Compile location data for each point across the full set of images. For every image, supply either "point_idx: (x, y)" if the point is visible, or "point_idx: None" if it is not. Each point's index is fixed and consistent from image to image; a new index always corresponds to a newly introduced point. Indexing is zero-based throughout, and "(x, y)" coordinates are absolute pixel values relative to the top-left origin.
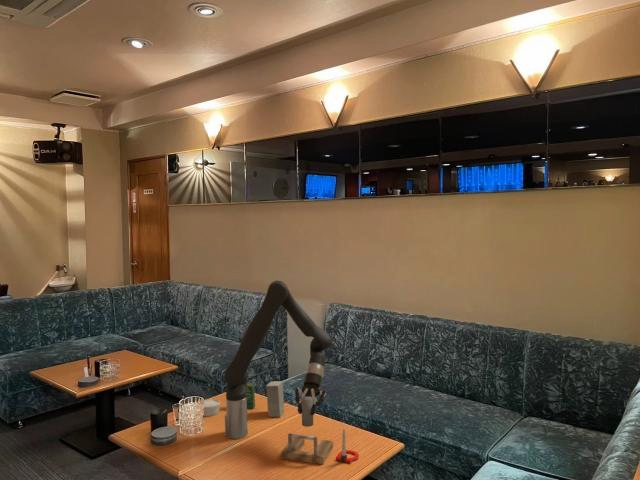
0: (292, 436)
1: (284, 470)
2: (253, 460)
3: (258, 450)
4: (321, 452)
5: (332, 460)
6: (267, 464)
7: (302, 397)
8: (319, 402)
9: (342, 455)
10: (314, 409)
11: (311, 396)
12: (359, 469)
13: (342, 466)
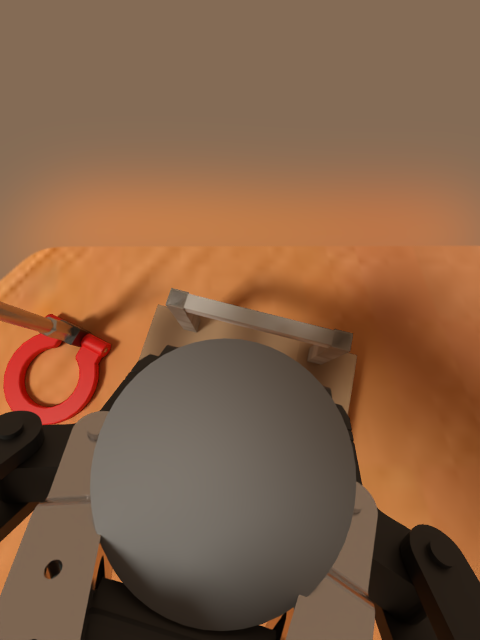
0: (321, 329)
1: (314, 271)
2: (459, 343)
3: (471, 435)
4: (166, 343)
5: (127, 344)
6: (391, 312)
7: (335, 523)
8: (3, 423)
9: (72, 326)
10: (131, 379)
11: (115, 606)
12: (29, 278)
13: (91, 299)
